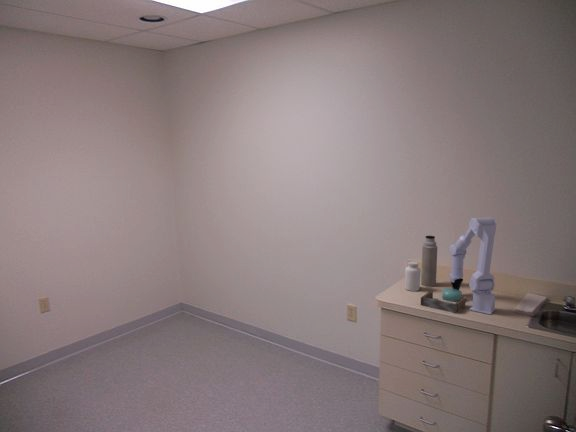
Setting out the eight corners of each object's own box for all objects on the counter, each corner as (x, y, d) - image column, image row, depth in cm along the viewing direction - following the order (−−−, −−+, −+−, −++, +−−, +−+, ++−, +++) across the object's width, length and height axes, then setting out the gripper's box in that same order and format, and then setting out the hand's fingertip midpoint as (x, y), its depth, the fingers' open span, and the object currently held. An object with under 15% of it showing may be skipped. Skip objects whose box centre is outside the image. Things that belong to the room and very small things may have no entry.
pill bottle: (420, 291, 227) (421, 264, 225) (405, 291, 229) (405, 264, 227) (419, 287, 235) (419, 261, 233) (404, 286, 237) (404, 260, 234)
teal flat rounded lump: (461, 297, 218) (462, 290, 218) (459, 303, 210) (460, 295, 210) (443, 294, 222) (444, 287, 222) (440, 299, 215) (441, 292, 214)
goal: (465, 305, 206) (465, 297, 206) (456, 313, 197) (457, 305, 196) (430, 298, 217) (430, 290, 217) (420, 305, 208) (420, 297, 207)
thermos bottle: (427, 281, 245) (428, 234, 240) (438, 284, 238) (440, 236, 234) (418, 284, 240) (419, 235, 236) (429, 287, 234) (431, 238, 229)
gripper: (454, 262, 227) (453, 287, 229) (444, 268, 216) (443, 294, 218) (467, 264, 222) (466, 289, 225) (458, 271, 212) (457, 297, 214)
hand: (456, 292), depth 221 cm, fingers closed
